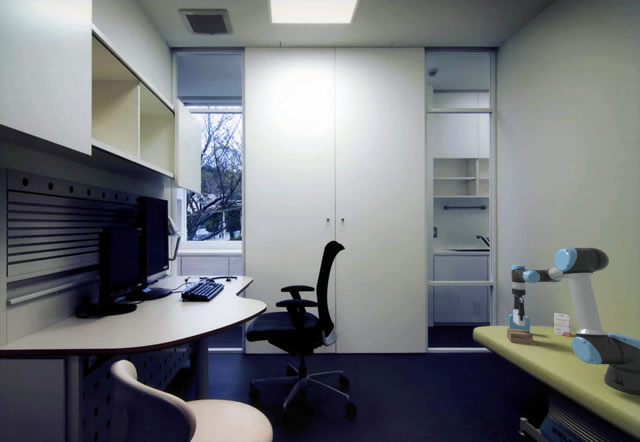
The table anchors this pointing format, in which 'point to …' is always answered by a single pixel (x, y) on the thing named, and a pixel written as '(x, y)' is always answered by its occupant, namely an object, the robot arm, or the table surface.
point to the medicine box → (515, 317)
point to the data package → (515, 326)
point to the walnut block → (519, 336)
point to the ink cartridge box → (562, 324)
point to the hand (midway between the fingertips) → (519, 323)
